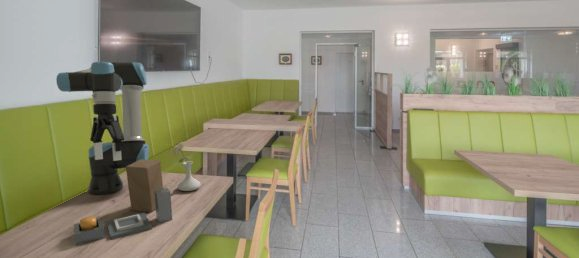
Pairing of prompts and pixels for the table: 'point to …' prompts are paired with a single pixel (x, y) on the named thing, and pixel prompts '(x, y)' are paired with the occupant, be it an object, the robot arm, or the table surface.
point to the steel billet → (163, 205)
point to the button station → (89, 233)
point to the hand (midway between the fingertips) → (107, 160)
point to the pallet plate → (128, 225)
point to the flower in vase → (189, 181)
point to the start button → (88, 223)
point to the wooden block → (144, 184)
